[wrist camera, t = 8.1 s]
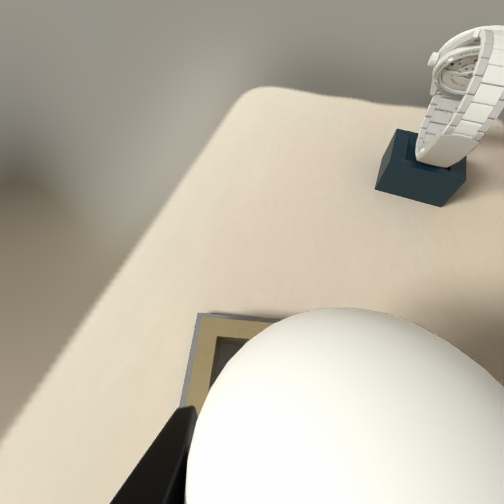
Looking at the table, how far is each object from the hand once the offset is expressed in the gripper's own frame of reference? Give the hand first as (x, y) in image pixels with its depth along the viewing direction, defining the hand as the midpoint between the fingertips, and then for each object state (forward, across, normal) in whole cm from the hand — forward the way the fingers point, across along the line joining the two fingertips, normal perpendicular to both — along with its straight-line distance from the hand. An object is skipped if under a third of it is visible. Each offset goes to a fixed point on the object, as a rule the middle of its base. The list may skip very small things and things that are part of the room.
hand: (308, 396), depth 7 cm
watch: (+18, -15, -4) cm, 24 cm away
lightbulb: (+4, 0, +6) cm, 7 cm away
